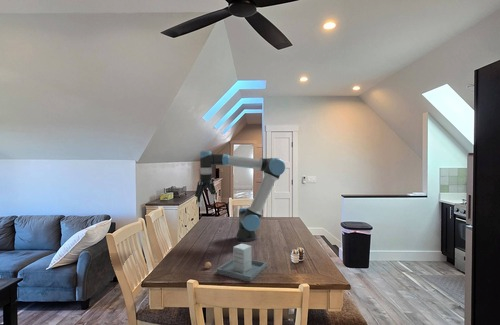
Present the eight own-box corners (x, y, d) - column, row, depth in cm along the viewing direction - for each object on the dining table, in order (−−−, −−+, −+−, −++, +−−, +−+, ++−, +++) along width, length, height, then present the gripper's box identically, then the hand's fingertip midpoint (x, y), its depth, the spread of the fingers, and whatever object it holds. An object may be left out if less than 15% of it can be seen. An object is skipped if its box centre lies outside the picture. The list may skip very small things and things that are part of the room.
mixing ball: (207, 266, 149) (207, 260, 148) (212, 267, 147) (212, 261, 147) (203, 268, 145) (203, 262, 145) (208, 270, 144) (208, 263, 144)
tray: (236, 260, 157) (236, 256, 157) (267, 267, 148) (267, 262, 148) (216, 273, 140) (216, 268, 140) (250, 282, 130) (250, 277, 130)
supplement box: (241, 265, 149) (241, 243, 149) (251, 268, 145) (252, 245, 144) (232, 269, 143) (232, 246, 143) (243, 273, 139) (243, 249, 138)
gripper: (212, 172, 192) (212, 201, 192) (189, 174, 170) (189, 207, 170) (220, 173, 188) (220, 202, 189) (198, 175, 166) (198, 208, 167)
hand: (205, 205), depth 180 cm, fingers open, 13 cm apart
